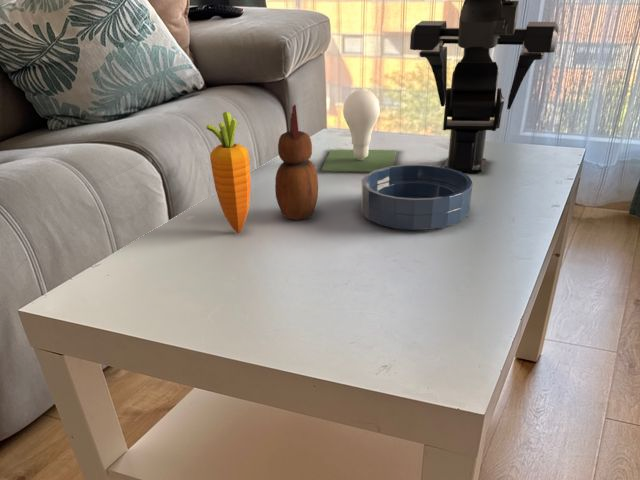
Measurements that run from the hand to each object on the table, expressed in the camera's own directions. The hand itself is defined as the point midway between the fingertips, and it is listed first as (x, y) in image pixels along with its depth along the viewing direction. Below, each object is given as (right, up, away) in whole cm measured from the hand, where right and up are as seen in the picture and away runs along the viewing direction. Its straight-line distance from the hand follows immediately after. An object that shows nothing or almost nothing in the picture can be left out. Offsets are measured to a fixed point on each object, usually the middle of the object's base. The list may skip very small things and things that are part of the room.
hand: (475, 107), depth 90 cm
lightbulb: (-15, +1, +21) cm, 26 cm away
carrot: (-33, -19, -2) cm, 38 cm away
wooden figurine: (-25, -15, +2) cm, 29 cm away
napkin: (-15, +1, +21) cm, 26 cm away
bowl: (-8, -14, +2) cm, 17 cm away
